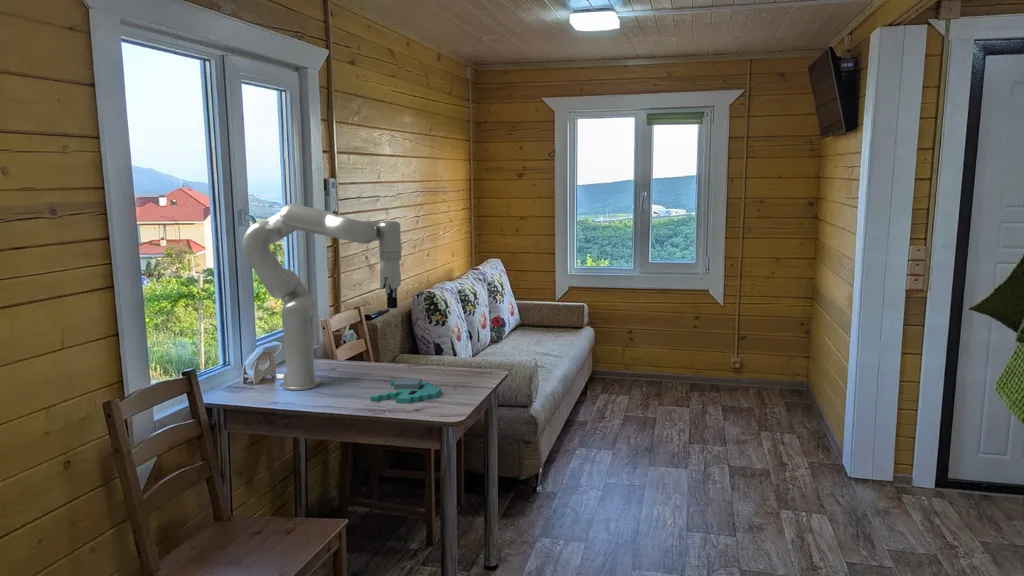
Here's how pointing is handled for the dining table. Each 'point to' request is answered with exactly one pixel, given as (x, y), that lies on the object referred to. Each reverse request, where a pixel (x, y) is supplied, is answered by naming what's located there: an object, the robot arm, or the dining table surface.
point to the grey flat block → (407, 384)
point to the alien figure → (410, 394)
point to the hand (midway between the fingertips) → (392, 307)
